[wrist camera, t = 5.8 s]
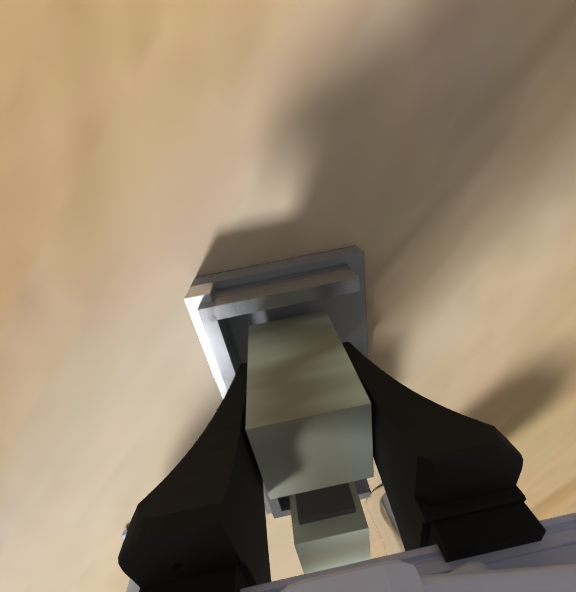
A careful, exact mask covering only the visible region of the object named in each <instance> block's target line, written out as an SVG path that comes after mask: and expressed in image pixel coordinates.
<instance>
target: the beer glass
mask: <svg viewBox="0 0 576 592" xmlns="http://www.w3.org/2000/svg"><path fill="white" fill-rule="evenodd" d="M366 509H367V512H368V514H369V516H370V518H371V520H372V522H373V524H374V526H375V528H376V530H377V532H378V534H379V537H380V539H381V541H382V544H383V547H384V550H385V553H386V556H387V555H392V554H396V553H400V552H405V549H404V546H403V543H402V540H401V537H400V533H399V530H398V527H397V524H396V521H395V518H394V515H393V512H392V509H391V506H390V503H389V500H388V497H387V494H386V492H385V489H384V486H383V485H382V486H380V487H378V488H377V489H375V490H374V491H373V492H372V493H371V497H368V498H367V501H366Z"/></svg>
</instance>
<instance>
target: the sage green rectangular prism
mask: <svg viewBox="0 0 576 592" xmlns="http://www.w3.org/2000/svg"><path fill="white" fill-rule="evenodd" d="M245 430H246V433H247V436H248V438H249V441H250V444H251V447H252V450H253V452H254V455H255V458H256V461H257V464H258V467H259V469H260V472H261V475H262V478H263V481H264V483H265V486H266V489H267V492H268V495H269V498H270V499H275V498H279V497H284V496H289V495H293V494H298V493H302V492H307V491H311V490H316V489H321V488H325V487H330V486H334V485H339V484H343V483H348V482H352V481H357V480H362V479H366V478H371V477H374V471H373V443H372V414H371V402H370V400H369V398H368V396H367V394H366V392H365V389H364V387H363V385H362V383H361V381H360V379H359V377H358V375H357V373H356V371H355V369H354V367H353V365H352V363H351V361H350V359H349V357H348V355H347V353H346V350H345V348H344V346H343V344H342V342H341V340H340V338H339V336H338V334H337V332H336V330H335V328H334V326H333V324H332V322H331V320H330V318H329V316H328V313H327V311H326V310H325V311H320V312H315V313H310V314H305V315H300V316H295V317H290V318H285V319H280V320H275V321H270V322H265V323H260V324H255V325H250V326H249V333H248V364H247V395H246V427H245Z"/></svg>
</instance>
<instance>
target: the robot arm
mask: <svg viewBox="0 0 576 592" xmlns="http://www.w3.org/2000/svg"><path fill="white" fill-rule="evenodd" d="M342 344H343V346H344V348H345V350H346V353H347V355H348V357H349V359H350V361H351V363H352V365H353V367H354V369H355V371H356V373H357V375H358V377H359V379H360V381H361V383H362V385H363V387H364V389H365V392H366V394H367V396H368V398H369V400H370V402H371V414H372V443H373V458H374V460H375V463H376V466H377V469H378V472H379V474H380V477H381V480H382V483H383V486H384V489H385V492H386V494H387V497H388V500H389V503H390V506H391V509H392V512H393V515H394V518H395V521H396V524H397V527H398V530H399V533H400V537H401V540H402V543H403V546H404V549H405V552H400V553H396V554H392V555H387V556H383V557H379V558H374V559H370V560H365V561H361V562H357V563H352V564H348V565H343V566H339V567H335V568H330V569H326V570H322V571H317V572H313V573H308V574H304V575H300V576H295V577H291V578H286V579H282V580H278V581H273V582H271V575H270V564H269V553H268V541H267V529H266V517H265V503H264V488H263V478H262V475H261V472H260V469H259V467H258V464H257V461H256V458H255V455H254V452H253V450H252V447H251V444H250V441H249V438H248V436H247V433H246V430H245V427H246V395H247V364H248V362H247V363H242V364H240V365H239V366H238V369H237V371H236V374H235V376H234V378H233V380H232V383H231V385H230V387H229V389H228V391H227V393H226V395H225V397H224V399H223V401H222V402H221V404H220V406H219V408H218V409H217V411H216V413H215V415H214V416H213V418H212V420H211V421H210V423H209V424H208V426H207V427H206V429H205V430H204V432H203V433H202V434H201V436H200V437H199V439H198V440H197V441H196V443H195V444H194V445H193V447H192V448H191V449H190V450H189V452H188V453H187V454H186V455H185V457H184V458H183V459H182V460H181V461H180V462H179V463H178V465H177V466H176V467H175V468H174V469H173V470H172V471H171V472H170V473H169V475H168V476H167V477H166V478H165V479H164V480H163V481H162V482H161V483H160V484H159V485H158V486H157V487H156V488H155V489H154V490H153V491H152V492H151V493H149V494H148V495H147V496H146V497H145V498H144V499H143V500H142V501H141V502H140V503H139V504H138V505H137V508H136V510H135V513H134V515H133V517H132V519H131V522H130V525H129V527H128V529H127V530H125V531H123V534H122V539H123V540H124V542H123V545H122V548H121V551H120V553H119V556H118V563H119V565H120V567H121V569H122V570H123V572H124V573H125V574H126V575H127V576H128V577H130V580H129V583H128V586H127V590H126V592H576V513H572V514H567V515H563V516H558V517H554V518H550V519H545V520H541V521H539V520H538V519H537V518H536V517H535V515H534V514H533V513H532V512H531V510H530V509H529V508H528V507H527V505H526V504H525V503H524V501H525V500H526V498H525V495H524V494H523V493H522V492H521V490H520V489H519V488H518V487H517V486H516V484H517V481H518V478H519V476H520V473H521V470H522V465H523V458H522V455H521V454H520V452H519V451H518V450H517V449H516V448H515V447H514V446H513V445H512V444H511V443H510V442H509V440H508V439H507V438H506V437H505V436H504V435H503V434H501V433H500V432H499V431H498V430H497V429H496V428H495V427H494V426H492V425H489V424H486V423H483V422H481V421H478V420H475V419H472V418H469V417H467V416H464V415H462V414H459V413H457V412H455V411H452V410H450V409H448V408H445V407H443V406H441V405H439V404H437V403H435V402H433V401H431V400H429V399H427V398H425V397H423V396H421V395H419V394H417V393H416V392H414V391H412V390H410V389H409V388H407V387H406V386H404V385H402V384H401V383H399V382H398V381H396V380H395V379H393V378H392V377H391V376H389V375H388V374H386V373H385V372H384V371H382V370H381V369H380V368H379V367H377V366H376V365H375V364H374V363H372V362H371V361H370V360H369V359H368V358H366V357H365V356H364V355H363V354H362V353H361V352H360V351H359V350H358V349H356V348H355V347H354V346H353V345H352V344H351V343H350V342H343V343H342Z"/></svg>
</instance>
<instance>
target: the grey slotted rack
mask: <svg viewBox="0 0 576 592" xmlns="http://www.w3.org/2000/svg"><path fill="white" fill-rule="evenodd" d="M184 300H185V303H186V305H187V308H188V310H189V313H190V316H191V318H192V321H193V323H194V326H195V328H196V331H197V334H198V336H199V339H200V341H201V344H202V347H203V349H204V352H205V354H206V357H207V360H208V362H209V365H210V367H211V370H212V372H213V375H214V378H215V380H216V383H217V385H218V388H219V391H220V393H221V396H222V398H223V399H224V397H225V395H226V393H227V391H228V389H229V387H230V385H231V383H232V380H233V378H234V376H235V374H236V371H237V369H238V366H239V365H240V364H242V363H247V362H248V333H249V326H250V325H255V324H260V323H265V322H270V321H275V320H280V319H285V318H290V317H295V316H300V315H305V314H310V313H315V312H320V311H325V310H326V311H327V313H328V316H329V318H330V320H331V322H332V324H333V326H334V328H335V330H336V332H337V334H338V336H339V338H340V340H341V342H342V343H343V342H350V343H351V344H352V345H353V346H354V347H355V348H356V349H358V350H359V351H360V352H361V353H362V354H363V355H364V356H365V357H366V358H368V341H367V318H366V296H365V273H364V252H363V251H362V250H360V249H359V248H358V247H357V246H352V247H347V248H342V249H337V250H332V251H327V252H322V253H317V254H312V255H307V256H302V257H297V258H292V259H287V260H282V261H277V262H272V263H266V264H261V265H256V266H251V267H246V268H241V269H236V270H231V271H226V272H221V273H216V274H211V275H206V276H201V277H196V278H195V279H194V281H193V283H192V285H191V287H190V288H189V290H188V292H187V294H186V296H185V298H184ZM263 488H264V503H265V510H266V512H267V514H268V513H272V514H273V516H274V518H278V517H283V516H287V515H291V516H292V526H293V535H294V545H295V548H296V551H297V554H298V557H299V560H300V563H301V566H302V569H303V572H304V574H308V573H313V572H317V571H322V570H326V569H330V568H335V567H339V566H343V565H348V564H352V563H357V562H361V561H365V560H370V559H371V556H370V541H369V528H368V525H367V521H366V518H365V515H364V512H363V509H362V505H361V502H360V499H364V498H368V497H371V490H370V488H369V485H368V482H367V479H362V480H357V481H352V482H348V483H343V484H339V485H334V486H330V487H325V488H321V489H316V490H311V491H307V492H302V493H298V494H293V495H289V496H284V497H279V498H275V499H270V498H269V495H268V492H267V489H266V486H265V483H264V481H263Z"/></svg>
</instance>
